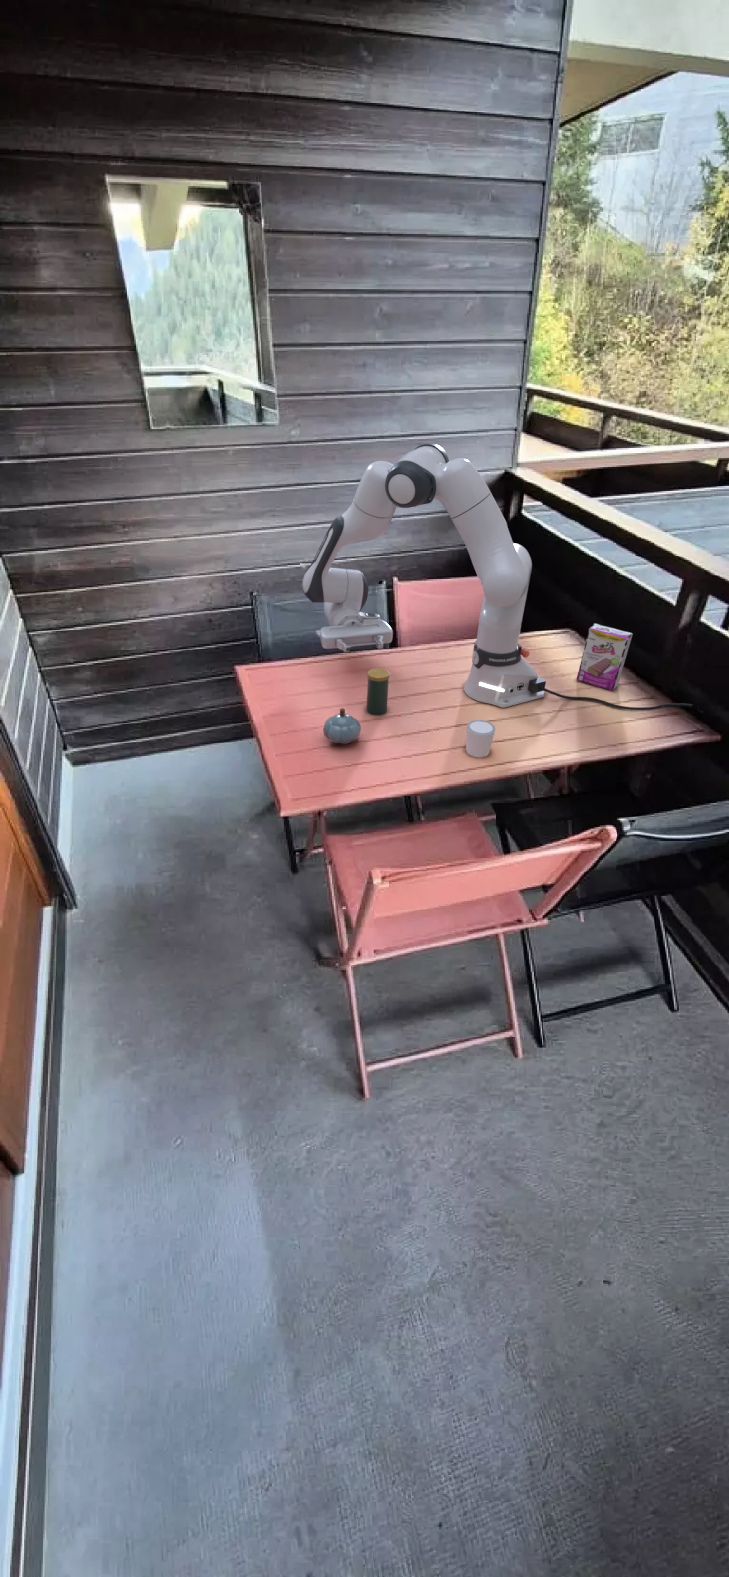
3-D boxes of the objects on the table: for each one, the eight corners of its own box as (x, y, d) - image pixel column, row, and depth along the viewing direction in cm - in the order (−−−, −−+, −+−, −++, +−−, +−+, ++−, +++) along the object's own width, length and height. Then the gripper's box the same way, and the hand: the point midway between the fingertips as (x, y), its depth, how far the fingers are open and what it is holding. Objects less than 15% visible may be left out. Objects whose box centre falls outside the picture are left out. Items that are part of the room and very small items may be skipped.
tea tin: (383, 703, 189) (385, 666, 183) (390, 714, 185) (392, 676, 179) (363, 706, 188) (364, 669, 181) (369, 716, 184) (371, 679, 177)
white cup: (490, 760, 169) (494, 736, 165) (462, 756, 170) (465, 732, 166) (492, 745, 174) (496, 721, 170) (464, 741, 175) (468, 717, 171)
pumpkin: (354, 728, 179) (355, 697, 174) (365, 747, 172) (366, 716, 166) (319, 732, 176) (318, 702, 171) (328, 753, 169) (328, 721, 164)
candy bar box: (575, 681, 203) (588, 628, 194) (581, 674, 207) (593, 622, 197) (613, 692, 199) (628, 638, 189) (618, 685, 202) (633, 632, 192)
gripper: (314, 619, 194) (326, 640, 184) (383, 613, 200) (400, 633, 189) (314, 640, 198) (326, 662, 187) (382, 634, 203) (398, 655, 193)
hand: (364, 647), depth 188 cm, fingers open, 8 cm apart
